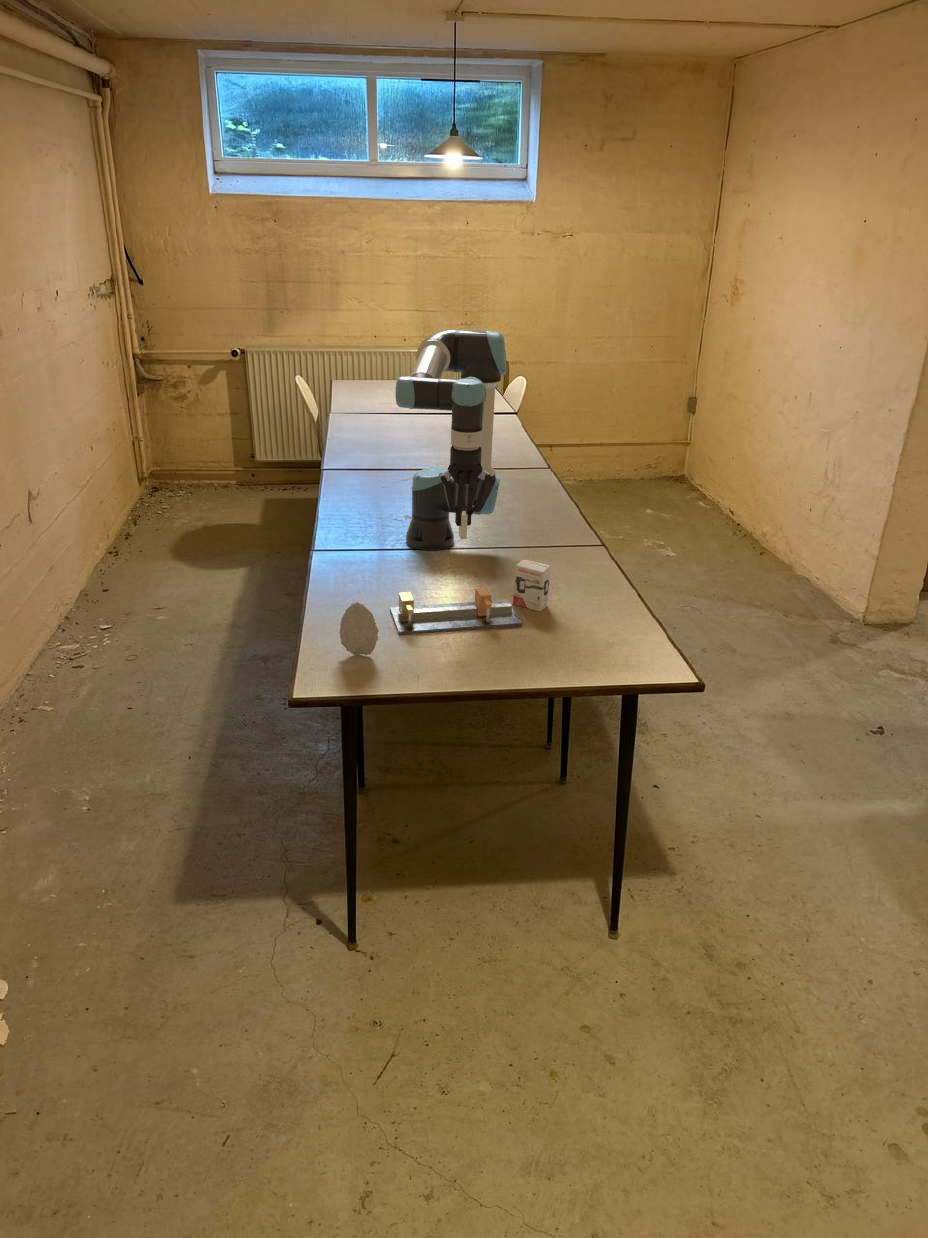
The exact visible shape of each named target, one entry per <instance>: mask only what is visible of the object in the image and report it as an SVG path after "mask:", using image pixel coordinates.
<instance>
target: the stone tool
mask: <svg viewBox="0 0 928 1238" xmlns="http://www.w3.org/2000/svg"><path fill="white" fill-rule="evenodd" d="M343 613H344V614H343V615H342V618H341V620H340V624H339V625H340V628H339V637H340V644H341V646H343V647H344V648H345V649H346V651H347V652H349V653H351V654H352V656H360V655H363V656H369V655H371V654H373V653H372V652H374V650H375V649H376V645H377V642H378V640H379V639H378V638H379V636H378V634H379V629H378V626H377V623H376V620H375V616H374V615H373V613H372V612H371V610H369V609H368V608H367V607H366V606H365V604H363V603H361V602H359V601H355V602H354V603H352V604H350V606H348V607H347V608H346V609H345V612H343Z"/></svg>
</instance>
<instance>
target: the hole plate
mask: <svg viewBox="0 0 928 1238" xmlns="http://www.w3.org/2000/svg"><path fill="white" fill-rule="evenodd" d="M499 603H510V602H509V600H508V599H497V600H491V604H499ZM470 605H475V601H469V602H468V601H467V602H466V601H465V602H456V603H455V602H454V603H453V602H452V603H451V602H450V603H441V604H438V603H436V604H426V605H425V604H424V605H414V609H426V608H441V607H456V606H470ZM389 610H390V614H391V617H392V619H393V621H394V625H395V628H396V630H397V633H398V636H410V635H411V636H412V635H421V634H422V635H424V634H437V633H438V634H439V633H450V632H461V631H462V632H463V631H475V630H476V631H477V630H490V629H504V628H517V627H522V625H523V622H522V621H521V619H520V618H519V616H518V614H517V613H516V611H515V610H514V609H513V607H512V613H503V614H490V615H489V622H486V616H478V615H475V616H461V617H447V618H433V619H419V620H413V621H411V627H410V628H409V627H408V625H409V621H404V622H402V621H399V619H398V610H399V606H395V607H389Z"/></svg>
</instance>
